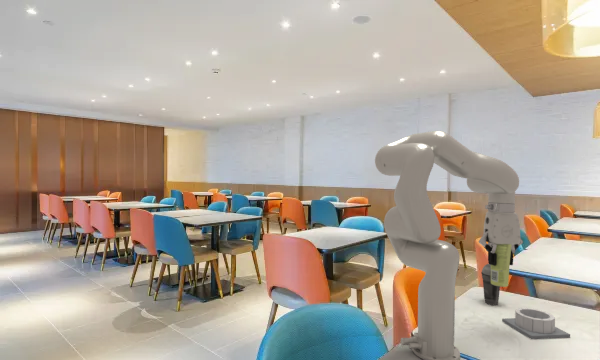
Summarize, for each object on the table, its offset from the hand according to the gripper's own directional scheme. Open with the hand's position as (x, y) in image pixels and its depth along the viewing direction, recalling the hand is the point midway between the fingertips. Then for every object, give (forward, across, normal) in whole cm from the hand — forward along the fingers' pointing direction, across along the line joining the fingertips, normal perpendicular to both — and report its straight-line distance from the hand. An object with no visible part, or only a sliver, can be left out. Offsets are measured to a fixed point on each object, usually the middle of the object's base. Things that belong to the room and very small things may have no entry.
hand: (500, 263), depth 112 cm
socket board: (+21, +12, -1) cm, 24 cm away
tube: (+7, 0, 0) cm, 7 cm away
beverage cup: (+22, +13, +22) cm, 33 cm away
